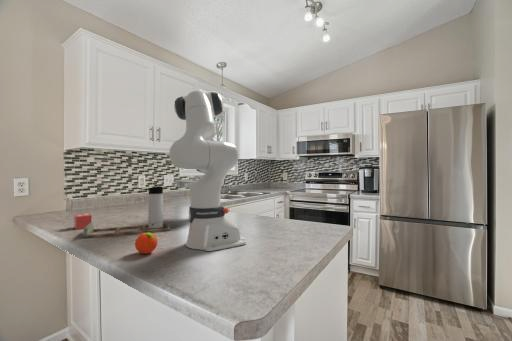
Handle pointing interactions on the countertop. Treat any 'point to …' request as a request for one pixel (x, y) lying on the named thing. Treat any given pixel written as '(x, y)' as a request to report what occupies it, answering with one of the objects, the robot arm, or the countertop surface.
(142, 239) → the clementine
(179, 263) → the countertop surface
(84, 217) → the red die
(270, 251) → the countertop surface
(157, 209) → the travel mug
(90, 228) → the wooden ladder frame
